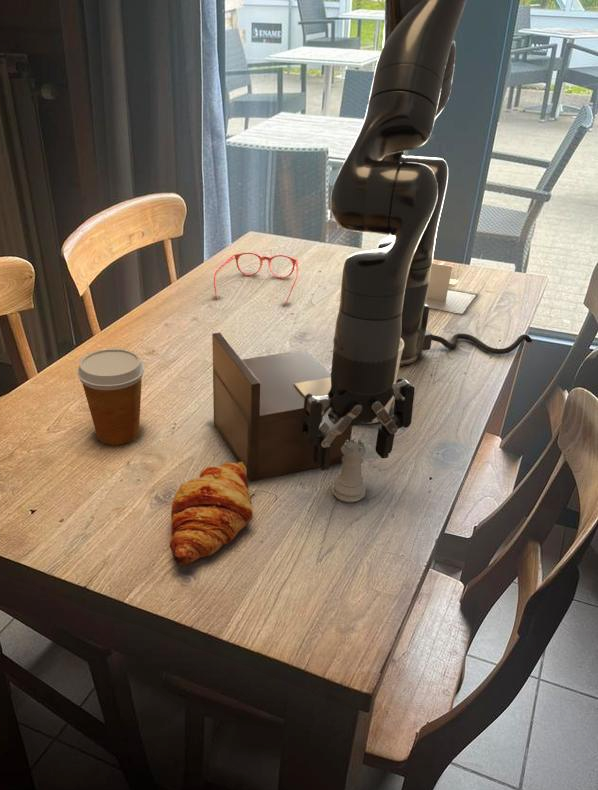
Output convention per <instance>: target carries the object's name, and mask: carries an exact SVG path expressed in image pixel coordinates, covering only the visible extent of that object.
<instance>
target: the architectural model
mask: <svg viewBox="0 0 598 790" xmlns="http://www.w3.org/2000/svg"><path fill="white" fill-rule="evenodd" d="M444 263H445V261H442V262H441V263H435V262H432V266H431V273H430V279H429V285H428V291H427V297H426V305H427V306H428V307H429V309H430V308H431V309H435V310H439V311H440V310H441V311H445V312H450V313H455V314H460V315H463V313H465V311H466V309H467V308H468V306H469V305H470V304H471V302H472V301H473V300H474V299H475V297H476V294H472V293H466V292H461V291H455V290H449V287H453V288H455V287H456V286H457V285H458V284H459V282H460V280H459V279H456V278H455V279H454V278H451V276H452V270H453V265H447V264H444Z"/></svg>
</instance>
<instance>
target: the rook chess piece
mask: <svg viewBox="0 0 598 790" xmlns="http://www.w3.org/2000/svg"><path fill="white" fill-rule="evenodd" d="M341 452H342V453H343V454H344V456H343V457H342V462H341V463H342V465H341V469H340V473H339V474H338V475H337V477H335V479H334V480H333V484H332V486H333V487H332V488H331V491H332V494H333V495H334V496H335V498H336V499H337V500H339V501H341V502H345V503H356V502H359V501H360V500H362V499H363V498H364V497H365V496H366V489H367V487H366V481H364V478H363V476H362V465H363V464H364V458H363V457H364V456H366V454H367V448H366V447H365V443H364V442H363V440H361V439H358V440H357V441H356V438H351V441H350V442H349V440H346V441H345V443H344V445H343V446H342V448H341Z"/></svg>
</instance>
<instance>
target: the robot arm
mask: <svg viewBox="0 0 598 790" xmlns="http://www.w3.org/2000/svg"><path fill="white" fill-rule="evenodd" d="M466 3H467V0H384V23H383V24H384V26H383V39H382V49H381V51H380V54H379V57H378V59H377V62H376V66H375V69H374V74H373V79H372V83H371V88H370V93H369V98H368V103H367V107H366V112H365V116H364V120H363V122H362V124H361V127H360V129H359V131H358V134H357V136H356V138H355V140H354V143H353V145H352V146H351V149H350V151H349V153H348V154H347V156H346V158H345V160H344V162H343V163H342V165H341V167H340V170H339V171H338V174H337V176H336V178H335V181H334V184H333V187H332V190H331V195H330V209H331V214H332V216H333V219H334V221H335V223H336V224H337V225H338V226H339V227H340V228H341V229H343V230H345V231H349V232H357V233H367V234H368V233H369V234H377V235H386V236H387V237H385V238H382V239H381V240H380V241H379V242H378V244H377V249H370V250H363V251H357V252H355V253H352V254H350V255H349V256H348V257H347V258H346V259H345V261H344V264H343V268H342V274H341V285H340V295H339V306H338V312H337V317H336V321H335V325H334V326H335V327H334V336H333V340H332V341H333V347H332V348H333V349H332V358H331V359H332V361H331V368H330V373H331V389H330V391H329V393H328V394H327V396H318V397H315V396H314V395H313V394H312V393H309V394H307V395H306V396H305V401H304V409H303V416H302V424H301V432H300V434H301V435H302V436H303V438H304V439H305V440H306V441H307V443H308V444H309V445H310V446H313V445H314V455H313V459H314V462H315V463H316V464H317V466H318V467H317V468H319V469H320V470H321V471H329V469H330V465H329V460H330V449H331V446H330V443H331V442H332V441H333V440H334V438H335V437H336V436H337V435H340V434H342V433H343V431H344V430H345V429H346V427H347V426H348V425H349V426H352V427H354V426H357V425H360V424H361V423H370V422H372V420H374V419H375V418H377V420H378V421H379V422H378V423H380V426H378V428H377V433H376V442H375V453H376V454H377V455H378V456H379V458H381V460H383V459H388V458H389V455H390V454H391V453H392V451H393V447H394V441H395V435H396V434H397V433H398V431H399V429H401V428H404V429H406V428H409V427H410V426H411V424H412V418H413V409H414V400H415V392H416V387H415V386H413V385H412V384H411V383H410V382H409V381H408V380H407V379H405V378H404V377H399V378H397V380H396V383H394V379H395V372H396V365H397V358H398V352H399V345H400V338H402V339H403V341H404V349H403V352H402V356H401V361H400V366H399V367H401V366H406V365H409V364H412V363H414V362H415V361H417V359H422V356H423V352H424V351H429V350H431V346H432V342H433V341H434V342H437V343H440V344H441V345H442V346H444V348H447V349H454V348H455V347H456V346H457V340H461V339H462V340H466V341H469V342H471V343H473V344H475V345H476V346H477V347H478V348H480V349H481V350H483V351H485V352H487V353H490V354H494V355H505V354H509V353H511V352H513V351H514V350H516V349H517V348H518V347H519V346H520V344H522V342H523V341H525V342H526V343H532V342H533V340H532V338H531V336H529V335H528V334H520V336H518V337H517V339H515V341H514V342H513V343H512V344H510V345H509V346H507V347H505V348H504V347H503V348H496V347H491V346H489V345H487V344H486V343H484V342H483V341H482V340H480V339H479V338H477V337H476V336H473V335H472V334H469V333H456V334H454V335H453V336H452V337H451V340H450V342H449V340H447V339H446V338H445V337H442V336H439V335H434V334H433V333H432V332H430V331H429V330H428V329H427V327H428V321H429V315H430V308H429V307H428V306H427V305H426V297H427V291H428V285H429V279H430V273H431V266H432V263H433V261H434V254H435V253H434V252H435V247H436V239H437V234H438V227H439V223H440V218H441V214H442V210H443V206H444V201H445V197H446V192H447V187H448V180H449V167H448V163H447V162H446V160H444V158H441V157H431V156H430V157H429V156H415V155H404V153H405V152H407V151H412V150H415V149H419V148H421V147H422V146H423V145H425V144H426V143H427V142H428V140H430V137H431V136H432V132H433V129H434V125H435V121H436V119H437V118H438V117H439V115H440V114H441V113H442V111H443V110H444V109H445V107H446V106H447V103H448V101H449V99H450V96H451V92H452V87H453V86H452V85H453V79H454V78H453V77H454V72H455V65H456V59H457V46H456V41H455V35H456V33H457V29H458V26H459V24H460V22H461V21H460V20H461V18H462V16H463V12H464V9H465V7H466ZM393 383H394V384H393ZM392 397H393V398H394V403H393V414H392V415H390V413H389V414H388V413H387V411H386V410H385V409H384V407H385V406H386V405H387V403H388V402H389V401H390V399H391V398H392ZM393 398H392V399H393ZM327 406H330V408H329V409H328V411H327V412H326V413H325V412H324V411H325V408H326V407H327ZM324 413H325V415H324ZM321 415H324V416H323V418H322V423H321V424H320V419H321ZM336 415H337V416H338V418H339V419H340V420H339V421H338V422H337V423H336V422H335V421H334V419H335V417H336ZM328 429H329V430H328ZM326 432H327V433H326ZM325 433H326V434H325Z"/></svg>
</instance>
